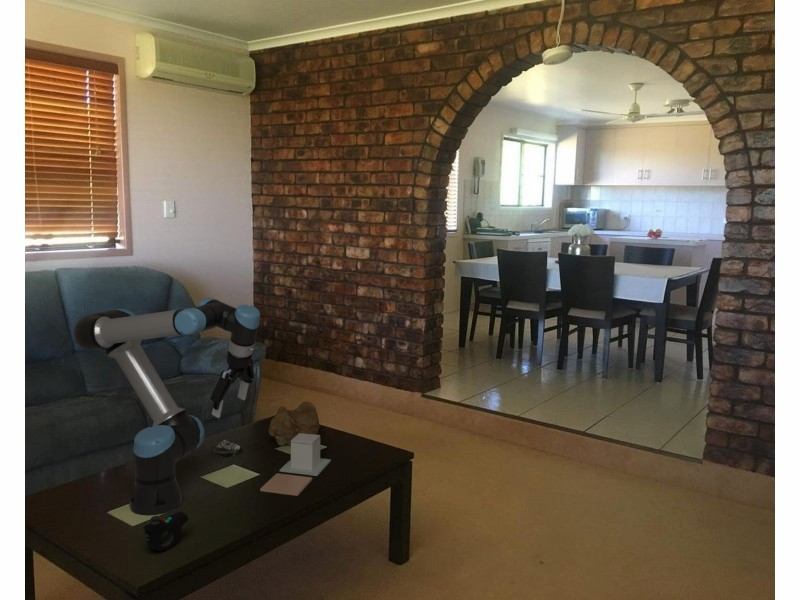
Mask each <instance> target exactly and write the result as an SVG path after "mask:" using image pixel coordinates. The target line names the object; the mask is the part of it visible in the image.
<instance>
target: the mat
mask: <svg viewBox="0 0 800 600" xmlns="http://www.w3.org/2000/svg"><path fill="white" fill-rule="evenodd" d="M331 461H332V460H331V459H330V458H329V459H328V458H321V457H320V462H319V463H318V465H317V466H316V467H315V468H314V469H313V470H307V469H299V468H291V459H290V460H288V461H287V462H286V463H285V464H284V465H283V466H282V467H281V468H280V469H279V472H283V473H291V474H299V475H307V476H312V477H313V476H315V477H318V475H320V473H322V471H323V470H325V468H326V467H327V466H328V465H329V464H330V463H331Z"/></svg>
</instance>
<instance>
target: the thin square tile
mask: <svg viewBox="0 0 800 600" xmlns="http://www.w3.org/2000/svg"><path fill="white" fill-rule="evenodd" d="M312 481H313V476H312V477H311V476H302V475H296V474H295V475H293V474H287V473H275V474H274V475H273V476H272V477H271V478H270V479H269V480H268V481H266V483H265V484H264V485H262V486H261V487H260V489H259V490H260V492H265V493H272V494H274V493H275V494H279V495H289V496H295V497H296V496H299V495H301V493H302V492H303V491H304V489H306V487H308V485H309V484H310V483H311V482H312Z"/></svg>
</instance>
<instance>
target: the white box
mask: <svg viewBox="0 0 800 600" xmlns="http://www.w3.org/2000/svg"><path fill="white" fill-rule="evenodd" d="M320 458H321V435H320V434H317V435H313V434H304V433H299V434H298V435H297V436H296V437H294V438H293V439H292V440H291V445H290V460H291V468H299V469H307V470H313V469H314V468H315V467H316V466H317V465H318V463H319V462H320Z"/></svg>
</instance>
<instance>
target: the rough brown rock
mask: <svg viewBox="0 0 800 600" xmlns="http://www.w3.org/2000/svg"><path fill="white" fill-rule="evenodd" d="M276 411H277V412H276V414H275V415H274V416H273V418H272V419H271V420H270V423H269V427H268V434H269V436H271V437H274V439H275V441H276V444H277V445H278V446H282V447H283V446H285V445H288V446H291V440H292V439H293V438H294V437H296V436H297V435H298V434H299V433H304V434H313V435H318V434H319V431H320V430H319V429H320V426H321V425H320V419H319V415H318V413H317V407H316V406H315V405H314V404H313V403H312V402H309V401H302V402H301V403H300V404H299V405H298V406H297V407H296V408H295V409H289V410H288V409H287V408H286V407H285V406H279V408H277V410H276Z"/></svg>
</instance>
